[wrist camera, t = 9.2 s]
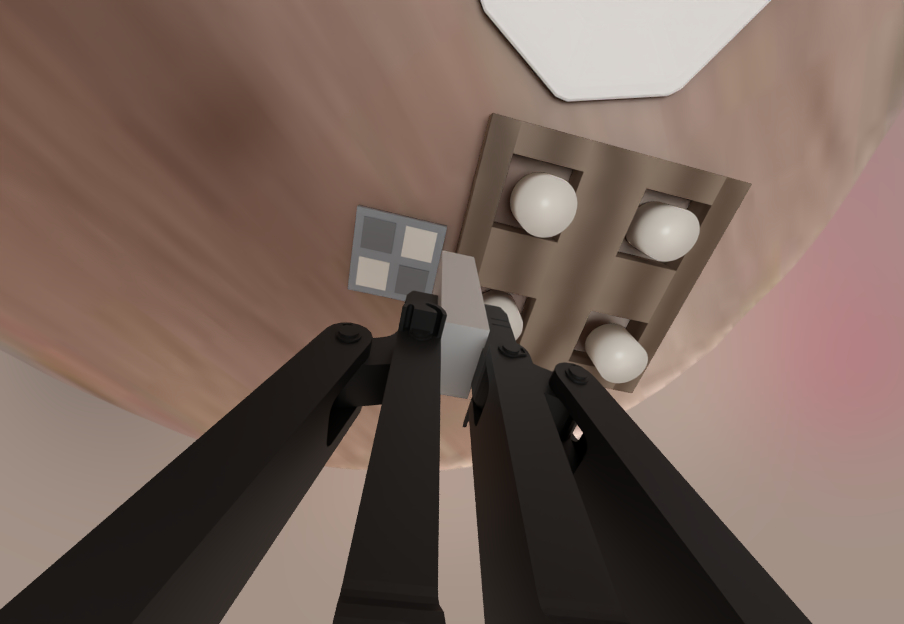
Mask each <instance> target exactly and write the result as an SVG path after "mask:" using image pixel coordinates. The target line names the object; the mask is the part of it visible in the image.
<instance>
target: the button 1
mask: <svg viewBox="0 0 904 624" xmlns="http://www.w3.org/2000/svg"><path fill="white" fill-rule="evenodd" d="M482 296H483V301H484V304H488V305H492V306H497V307H501V308H502V309H503V310H504V312H505V313H506V314H507V315H508V318H509V323H510V325H511V328H512V331H513V334H514V337H515V340H517V339H518V337H519V336H520V334H521V332H522V329H523V321H522V318H521V316H520V313H519V310H518V308H517V305H516V303H515V301H514V299H513V297H512V296H511V295H509V294H508V293H506V292H504V291H500V290H491V291H488V292H485V293H484V294H482Z"/></svg>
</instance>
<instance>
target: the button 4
mask: <svg viewBox="0 0 904 624" xmlns="http://www.w3.org/2000/svg"><path fill="white" fill-rule="evenodd" d="M699 231H700V226H699V221H698V219H697V217H696V216H695V215H694V214H693V213H692V212H690V211H688V210H685V209H682V208H679V207H675V206H672V205H669V204H666V203H662V202H649V203H646V204H643V205H641V206H640V207H638V208H637V210H636V213H635V215H634V217H633V219H632V221H631V224H630V226H629V228H628V230H627V233H626V238H627V241H628V242H629V243H630V244H631V245H632V246H633V247H635V248H636V249H638V250H640V251H641V252H643V253H645V254H646V255H648V256H650V257H651V258H653V259H655V260H658V261H662V262H667V261H673V260H676V259H678V258H680V257H682V256H684V255H685V254H686V253H687V252H689V251H690V250H691V248H692V247H693V246H694V244H695V243H696V241H697V239H698V236H699Z"/></svg>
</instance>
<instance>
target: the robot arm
mask: <svg viewBox="0 0 904 624" xmlns="http://www.w3.org/2000/svg"><path fill="white" fill-rule="evenodd" d="M471 386H472V399H471V402H470V405H469V408H468V410H467V413H466V416H465V419H464V423H463V427H466V426H467V423H468V421H469V424H470V437H471V450H472V463H473V475H474V489H475V502H476V515H477V527H478V540H479V553H480V566H481V578H482V592H483V605H484V618H485V624H812V623H811V622H810V621H809V619H808V618H807V617H806V616H805V615H804V614H803V613H802V611H801V610H800V609H799V608H798V607H797V606H796V605H795V603H794V602H793V601H792V600H791V599H790V598H789V597H788V595H786V593H785V592H784V591H783V590H782V589H781V588H780V586H779V585H778V584H777V583H776V582H775V581H774V580H773V578H772V577H771V576H770V575H769V574H768V573H767V572H766V571H765V569H764V568H762V566H761V565H760V564H759V563H758V561H757V560H756V559H755V558H754V557H753V556H752V555H751V554H750V552H749V551H748V550H747V549H746V548H745V547H744V546H743V544H742V543H741V542H740V541H739V540H738V539H737V538H736V537H735V535H734V534H733V533H732V532H731V531H730V530H729V529H728V527H727V526H726V525H725V524H724V523H723V522H722V521H721V520H720V519H719V517H718V516H717V515H716V514H715V513H714V512H713V510H712V509H711V508H710V507H709V506H708V505H707V504H706V503H705V501H703V499H702V498H701V497H700V496H699V495H698V494H697V492H696V491H695V490H694V489H693V488H692V487H691V486H690V484H689V483H688V482H687V481H686V480H685V479H684V478H683V477H682V475H681V474H680V473H679V472H678V471H677V470H676V469H675V467H674V466H673V465H672V464H671V463H670V462H669V461H668V460H667V458H666V457H665V456H664V455H663V454H662V453H661V451H660V450H659V449H658V448H657V447H656V446H655V445H654V444H653V442H652V441H651V440H650V439H649V438H648V437H647V436H646V435H645V434H644V432H643V431H642V430H641V429H640V428H639V427H638V425H637V424H636V423H635V422H634V421H633V420H632V419H631V417H630V416H629V415H628V414H627V413H626V412H625V411H624V410H623V408H622V407H621V406H620V405H619V404H618V403H617V402H616V400H615V399H614V398H613V397H612V396H611V395H610V394H609V393H608V391H607V390H606V389H605V388H604V387H603V386H602V385H601V383H600V382H599V381H598V380H597V379H596V378H595V377H594V376H593V375H592V374H591V373H590V372H589V371H587V370H586V369H584V368H583V367H581V366H579V365H576V364H573V363H567V362H563V363H558V364H557V365H556V366H555V368H554V370H553V371H550V370H547V369H545V368H542V367H540V366H537V365H535V364H533V362H532V359H531V356H530V354H529V353H528V351H527V350H526V349H525V348H524V347H523V346H521V345H520V344H518V343H516V340H515V337H514V334H513V331H512V328H511V325H510V323H509V318H508V315H507V314H506V313H505V312H504V310H503V309H502V308H501V307H497V306H492V305H488V304H484V301H483V296H482V292H481V287H480V282H479V278H478V273H477V268H476V264H475V259H474V257H471V256H466V255H462V254H457V253H452V252H448V251H443V250H442V255H441V259H440V264H439V268H438V272H437V277H436V281H435V285H434V290H433V294H429V293H424V292H419V291H414V290H413V291H411V292H410V293H409V294H407V295H406V300H405V304H404V305H403V308H402V313H401V318H400V323H399V329H398V331H397V332H396V333H395V334H393V335H391V336H387V337H381V338H373V337H372V334H371V332H370V331H369V330H368V329H367V328H365V327H363V326H361V325H358V324H354V323H338V324H333V325H331V326H329V327H328V328H326V329H325V330H324V331H323V332H321V333H320V334H319V335H318V336H317V337H316V338H314V339H313V340H312V341H311V342H310V343H309V344H308V345H306V346H305V347H304V348H303V349H302V350H301V351H299V352H298V353H297V354H296V355H295V356H294V357H292V358H291V359H290V360H289V361H288V362H287V363H286V364H284V365H283V366H282V367H281V368H280V369H279V370H277V371H276V372H275V373H274V374H273V375H272V376H270V377H269V378H268V379H267V380H266V381H265V382H263V383H262V384H261V385H260V386H259V387H258V388H257V389H255V390H254V391H253V392H252V393H251V394H250V395H248V396H247V397H246V398H245V399H244V400H243V401H241V402H240V403H239V404H238V405H237V406H236V407H235V408H233V409H232V410H231V411H230V412H229V413H228V414H226V415H225V416H224V417H223V418H222V419H221V420H219V421H218V422H217V423H216V424H215V425H214V426H212V427H211V428H210V429H209V430H208V431H207V432H206V433H204V434H203V435H202V436H201V437H200V438H199V439H197V440H196V441H195V442H194V443H193V444H192V445H190V446H189V447H188V448H187V449H186V450H185V451H184V452H183V453H181V454H180V455H179V456H178V457H177V458H175V459H174V460H173V461H172V462H171V463H170V464H168V466H166V467H165V468H164V469H163V470H162V471H160V472H159V473H158V474H157V475H156V476H155V477H153V478H152V479H151V480H150V481H149V482H148V483H146V484H145V485H144V486H143V487H142V488H141V489H140V490H138V491H137V492H136V493H135V494H134V495H133V496H131V497H130V498H129V499H128V500H127V501H126V502H124V503H123V504H122V505H121V506H120V507H119V508H117V509H116V510H115V511H114V512H113V513H112V514H111V515H109V516H108V517H107V518H106V519H105V520H104V521H103V522H101V523H100V524H99V525H98V526H97V527H96V528H94V529H93V530H92V531H91V532H90V533H89V534H87V535H86V536H85V537H84V538H83V539H82V540H81V541H79V542H78V543H77V544H76V545H75V546H74V547H72V548H71V549H70V550H69V551H68V552H67V553H65V554H64V555H63V556H62V557H61V558H60V559H58V560H57V561H56V562H55V563H54V564H53V565H51V566H50V567H49V568H48V569H47V570H46V571H45V572H43V573H42V574H41V575H40V576H39V577H37V578H36V579H35V580H34V581H33V582H32V583H31V584H29V585H28V586H27V587H26V588H25V589H24V590H22V591H21V592H20V593H19V594H18V595H17V596H16V597H14V598H13V599H12V600H11V601H10V602H9V603H7V604H6V605H5V606H4V607H3V608H2V609H0V624H219V623H220V622H221V620H222V619H223V617H224V616H225V614H226V613H227V611H228V610H229V608H230V607H231V605H232V604H233V602H234V600H235V599H236V598H237V596H238V595H239V593H240V592H241V590H242V589H243V587H244V586H245V584H246V583H247V581H248V579H249V578H250V577H251V575H252V574H253V572H254V571H255V569H256V567H257V566H258V564H259V563H260V562H261V560H262V559H263V557H264V556H265V554H266V553H267V551H268V550H269V548H270V547H271V545H272V544H273V542H274V541H275V539H276V537H277V536H278V535H279V533H280V532H281V530H282V529H283V527H284V526H285V524H286V523H287V521H288V519H289V518H290V517H291V515H292V514H293V512H294V511H295V509H296V508H297V506H298V505H299V503H300V502H301V500H302V499H303V497H304V495H305V494H306V493H307V491H308V490H309V488H310V487H311V485H312V484H313V482H314V480H315V479H316V478H317V476H318V475H319V473H320V472H321V470H322V468H323V467H324V466H325V464H326V463H327V461H328V460H329V458H330V457H331V455H332V454H333V452H334V451H335V449H336V448H337V446H338V445H339V443H340V442H341V440H342V439H343V437H344V436H345V434H346V433H347V431H348V430H349V428H350V427H351V425H352V424H353V422H354V421H355V419H356V418H357V416H358V415H359V413H360V411H361V408H362V406H369V405H380V404H382V406H381V411H380V415H379V420H378V424H377V429H376V433H375V438H374V443H373V447H372V452H371V456H370V461H369V465H368V470H367V474H366V479H365V484H364V488H363V493H362V497H361V502H360V506H359V511H358V515H357V520H356V524H355V529H354V534H353V539H352V543H351V548H350V552H349V556H348V561H347V565H346V570H345V575H344V579H343V584H342V588H341V592H340V596H339V599H338V603H337V607H336V611H335V615H334V620H333V624H446V623H445V617H444V612H443V610H442V608H441V607H440V605H439V600H438V535H439V532H438V531H439V462H440V394H441V395H447V396H453V397H459V398H465V399H467V398H468V395H469V392H470V389H471ZM577 425H578V426H579V428H580V429H581V431H582V432H583V434H582V436H581V438H580V439H579V440H577V439H576V438H575V436H574V435H573V431H574V429H575V427H576V426H577Z"/></svg>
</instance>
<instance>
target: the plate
mask: <svg viewBox="0 0 904 624" xmlns="http://www.w3.org/2000/svg"><path fill="white" fill-rule="evenodd" d="M480 1H481V4H482V7H483V10H484V12H485V13H486V15H487V16H488V17H489V18H490V19H491V21H492V22H493V23H494V24H495V25H496V27H497V28H498V29H499V30H500V31H501V33H502V34H503V35H504V36H505V37H506V39H507V40H508V41H509V42H510V43H511V44H512V46H513V47H514V48H515V49H516V50H517V52H518V53H519V54H520V55H521V56H522V58H523V59H524V60H525V61H526V62H527V64H528V65H529V66H530V67H531V68H532V70H533V71H534V72H535V73H536V74H537V76H538V77H539V78H540V79H541V80H542V82H543V83H544V84H545V85H546V86H547V88H548V89H549V90H550V91H551V92H552V94H553V95H554V96H555V97H557V98H560V99H562V100H564V101H566V102H568V101H586V100H604V99H622V98H640V97H658V96H669V95H671V94H673V93H675V92H677V91H679V90H681V89H682V88H683V87H684V86H685V85H686V84H687V83H688V82H689V81H690V80H691V79H692V78H693V77H694V76H695V75H696V74H697V73H698V72H699V71H700V70H701V69H702V68H703V67H704V66H705V65H706V64H707V63H708V62H709V61H710V60H711V59H712V58H713V57H714V56H715V55H716V54H717V53H718V52H719V51H720V50H721V49H722V48H723V47H724V46H725V45H726V44H727V43H729V42H730V41H731V40H732V39H733V38H734V37H735V36H736V35H737V34H738V33H739V32H740V31H741V30H742V29H743V28H744V27H745V26H746V25H747V24H748V23H749V22H750V21H751V20H752V19H753V18H754V17H755V16H756V15H757V14H758V13H759V12H760V11H761V10H762V9H763V8H764V7H765V6H766V5H767V4H768V3H769V2H770V1H771V0H480Z"/></svg>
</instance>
